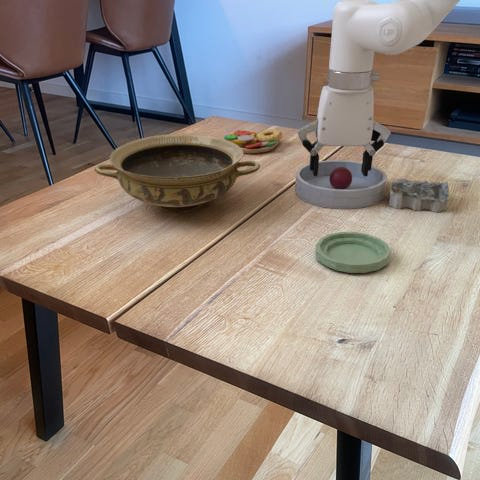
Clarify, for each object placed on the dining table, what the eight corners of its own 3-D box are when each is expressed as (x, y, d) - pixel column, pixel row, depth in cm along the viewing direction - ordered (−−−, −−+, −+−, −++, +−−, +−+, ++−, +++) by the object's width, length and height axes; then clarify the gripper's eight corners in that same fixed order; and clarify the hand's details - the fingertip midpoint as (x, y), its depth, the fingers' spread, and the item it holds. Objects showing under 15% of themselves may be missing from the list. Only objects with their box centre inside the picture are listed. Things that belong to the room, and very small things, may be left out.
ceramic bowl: (89, 233, 95) (78, 177, 90) (111, 184, 115) (104, 135, 109) (263, 229, 96) (264, 173, 90) (256, 180, 116) (256, 132, 110)
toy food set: (286, 142, 138) (287, 128, 136) (269, 157, 128) (269, 143, 126) (236, 137, 142) (236, 124, 140) (216, 152, 132) (216, 138, 130)
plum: (349, 185, 111) (351, 163, 109) (352, 193, 108) (354, 171, 105) (327, 185, 111) (328, 163, 109) (330, 193, 108) (331, 171, 105)
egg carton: (385, 208, 103) (388, 187, 101) (389, 194, 109) (392, 173, 106) (446, 214, 100) (450, 192, 98) (446, 199, 106) (451, 178, 104)
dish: (374, 175, 117) (376, 159, 115) (393, 208, 103) (396, 190, 101) (292, 176, 117) (293, 160, 115) (299, 209, 103) (300, 191, 101)
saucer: (380, 241, 91) (381, 231, 90) (395, 275, 82) (397, 264, 81) (312, 242, 91) (313, 232, 90) (320, 275, 82) (320, 264, 81)
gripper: (393, 75, 101) (380, 167, 111) (298, 75, 102) (293, 167, 111) (402, 84, 95) (387, 180, 105) (302, 84, 95) (296, 180, 105)
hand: (339, 173), depth 108 cm, fingers open, 9 cm apart
